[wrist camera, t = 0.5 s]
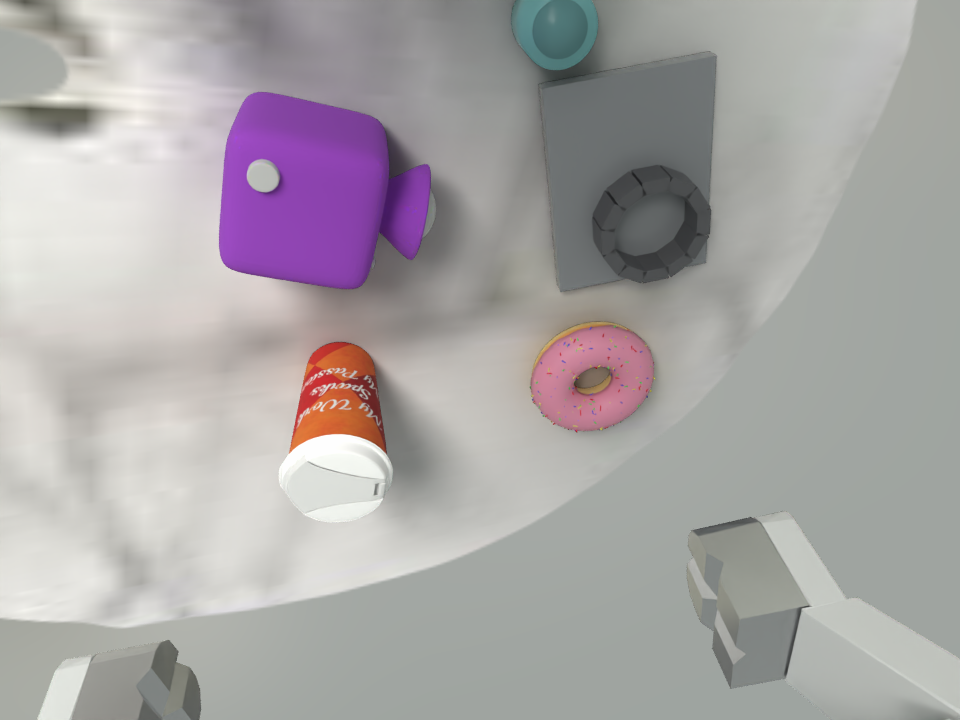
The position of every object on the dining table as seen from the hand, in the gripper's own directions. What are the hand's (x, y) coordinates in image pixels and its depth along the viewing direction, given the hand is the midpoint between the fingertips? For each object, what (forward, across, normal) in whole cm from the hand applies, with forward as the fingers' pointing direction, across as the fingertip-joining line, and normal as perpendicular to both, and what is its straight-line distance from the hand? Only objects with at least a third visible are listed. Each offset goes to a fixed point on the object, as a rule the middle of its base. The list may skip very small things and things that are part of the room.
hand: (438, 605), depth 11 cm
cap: (+43, -11, +1) cm, 44 cm away
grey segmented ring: (+41, -17, +16) cm, 48 cm away
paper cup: (+43, +9, +25) cm, 50 cm away
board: (+43, -16, +13) cm, 47 cm away
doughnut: (+43, -12, +30) cm, 54 cm away
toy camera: (+43, +5, +8) cm, 44 cm away
